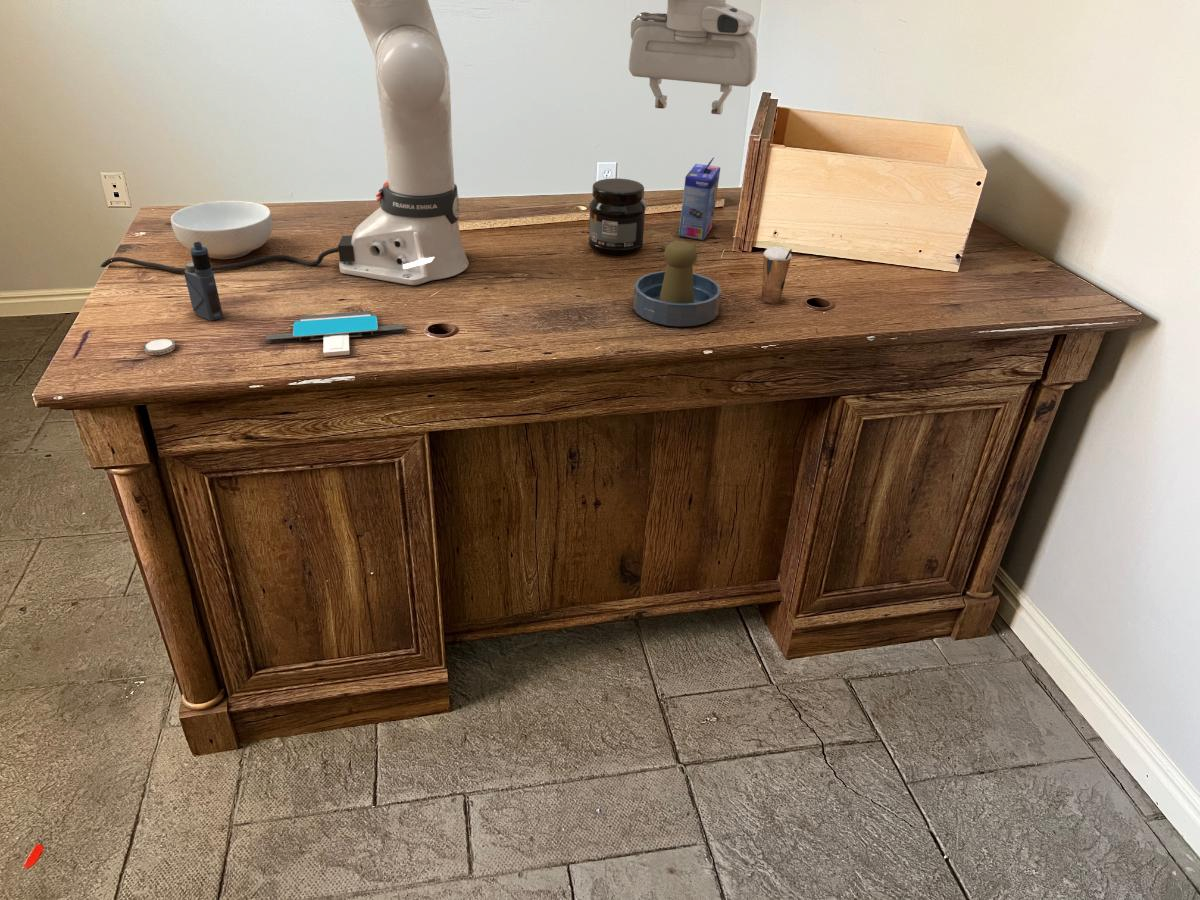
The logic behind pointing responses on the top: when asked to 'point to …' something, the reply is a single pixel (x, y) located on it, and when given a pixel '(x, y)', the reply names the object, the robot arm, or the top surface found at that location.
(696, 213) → the ink cartridge box
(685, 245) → the olive peg figure
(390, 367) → the top surface
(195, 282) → the vaping device
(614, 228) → the supplement container
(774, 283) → the milkshake
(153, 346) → the white bottle cap
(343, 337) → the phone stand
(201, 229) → the cereal bowl
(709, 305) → the serving bowl
